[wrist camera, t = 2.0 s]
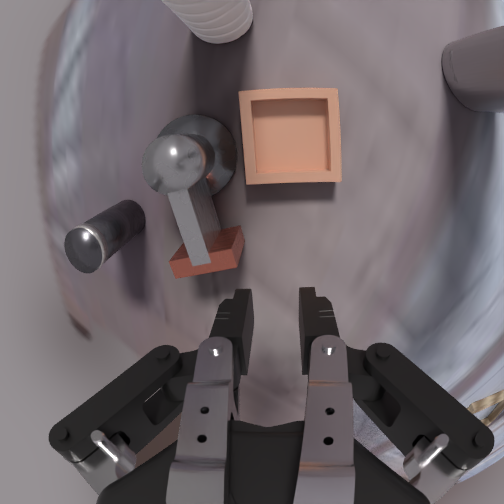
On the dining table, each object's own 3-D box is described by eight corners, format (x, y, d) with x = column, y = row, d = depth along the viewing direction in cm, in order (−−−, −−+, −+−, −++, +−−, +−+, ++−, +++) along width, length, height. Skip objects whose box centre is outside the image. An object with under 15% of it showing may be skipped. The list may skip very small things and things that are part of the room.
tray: (332, 92, 23) (337, 88, 21) (336, 177, 27) (341, 181, 25) (241, 94, 24) (238, 91, 22) (249, 180, 28) (246, 184, 26)
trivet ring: (515, 383, 41) (518, 389, 39) (488, 418, 48) (490, 423, 46) (468, 404, 43) (471, 411, 41) (441, 437, 51) (443, 443, 49)
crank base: (233, 109, 25) (231, 109, 24) (240, 194, 28) (239, 196, 28) (151, 122, 26) (147, 122, 25) (161, 201, 30) (158, 203, 29)
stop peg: (141, 197, 29) (92, 226, 20) (148, 233, 31) (105, 273, 22) (111, 201, 30) (59, 230, 21) (118, 235, 32) (72, 273, 23)
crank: (158, 144, 26) (130, 149, 20) (212, 125, 25) (194, 124, 19) (193, 251, 30) (175, 278, 25) (244, 241, 29) (237, 267, 24)
